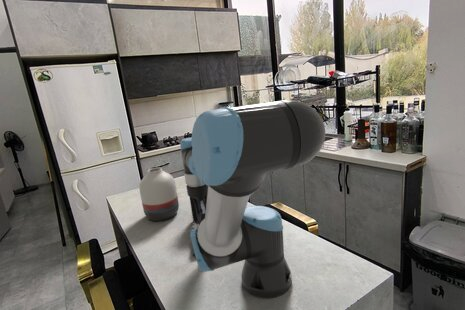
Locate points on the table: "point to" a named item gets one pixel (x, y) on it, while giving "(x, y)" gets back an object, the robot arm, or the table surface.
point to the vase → (158, 195)
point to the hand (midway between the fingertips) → (205, 244)
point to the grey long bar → (194, 225)
